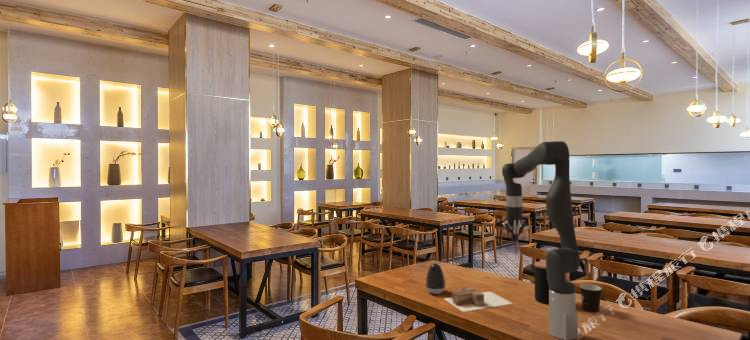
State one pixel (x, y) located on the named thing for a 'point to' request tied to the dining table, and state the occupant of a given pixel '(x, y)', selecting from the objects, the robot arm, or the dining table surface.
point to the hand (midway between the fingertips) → (514, 241)
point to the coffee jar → (541, 283)
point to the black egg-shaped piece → (435, 279)
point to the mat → (489, 301)
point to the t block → (468, 297)
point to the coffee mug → (590, 297)
